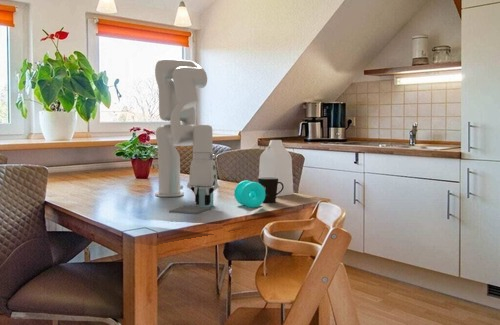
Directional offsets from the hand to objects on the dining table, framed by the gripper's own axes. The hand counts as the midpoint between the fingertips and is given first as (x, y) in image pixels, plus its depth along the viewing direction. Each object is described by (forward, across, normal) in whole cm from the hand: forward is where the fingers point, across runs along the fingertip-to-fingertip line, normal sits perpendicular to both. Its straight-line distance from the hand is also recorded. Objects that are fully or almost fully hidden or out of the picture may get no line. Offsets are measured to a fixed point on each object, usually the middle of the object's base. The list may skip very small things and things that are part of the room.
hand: (202, 204), depth 183 cm
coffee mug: (+2, -20, -23) cm, 31 cm away
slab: (+1, 0, -3) cm, 3 cm away
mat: (+1, +1, +9) cm, 9 cm away
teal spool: (+2, -16, -9) cm, 18 cm away
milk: (+2, -16, -46) cm, 49 cm away
